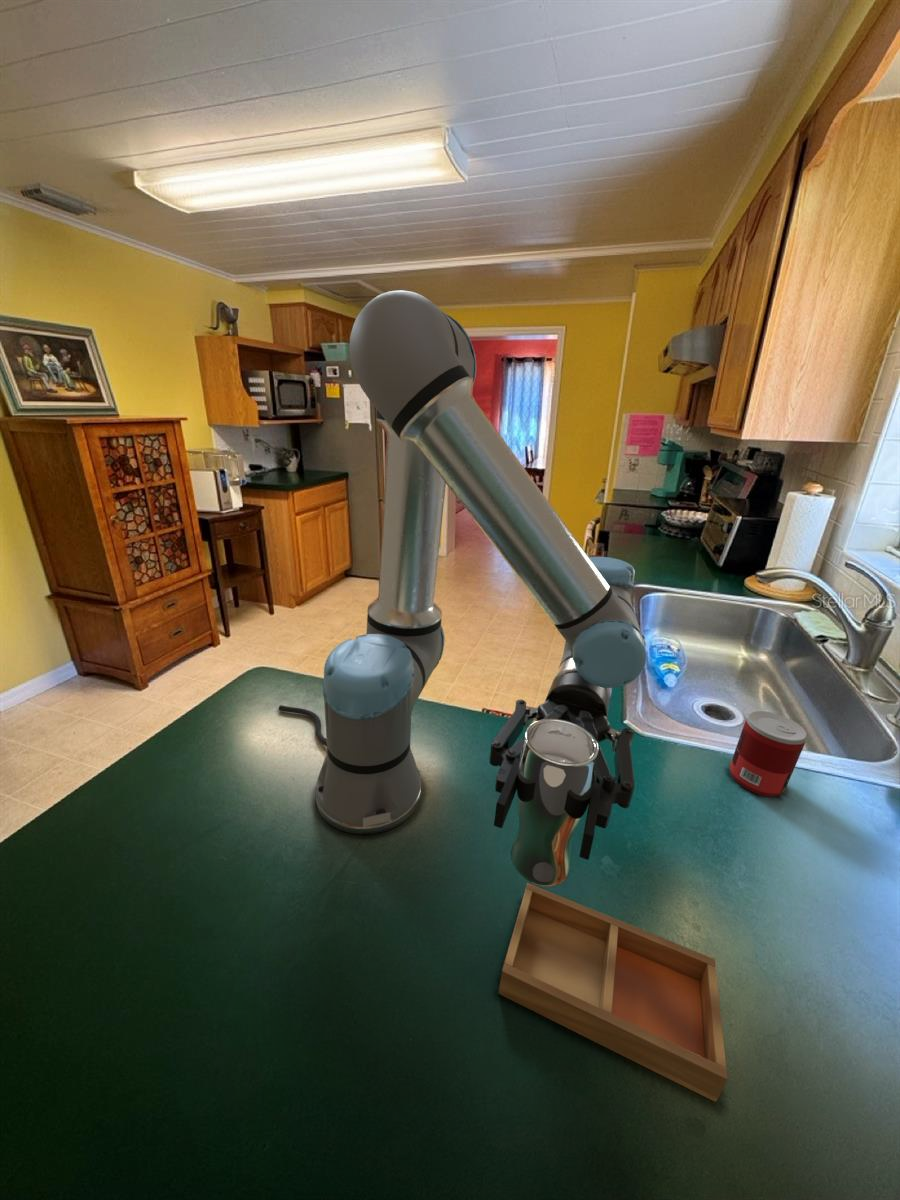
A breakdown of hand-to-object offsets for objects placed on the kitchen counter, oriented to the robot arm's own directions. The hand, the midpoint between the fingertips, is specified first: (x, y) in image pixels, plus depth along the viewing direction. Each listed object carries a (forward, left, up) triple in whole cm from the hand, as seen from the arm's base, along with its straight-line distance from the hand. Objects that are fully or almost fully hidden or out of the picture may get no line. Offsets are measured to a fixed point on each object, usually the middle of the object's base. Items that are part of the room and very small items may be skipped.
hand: (541, 830), depth 41 cm
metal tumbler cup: (0, +5, -9) cm, 10 cm away
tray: (+8, +3, -20) cm, 22 cm away
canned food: (+28, +45, -20) cm, 57 cm away
